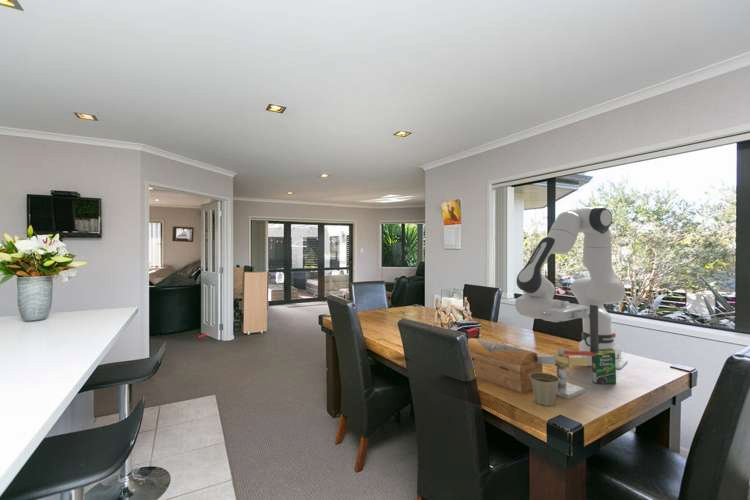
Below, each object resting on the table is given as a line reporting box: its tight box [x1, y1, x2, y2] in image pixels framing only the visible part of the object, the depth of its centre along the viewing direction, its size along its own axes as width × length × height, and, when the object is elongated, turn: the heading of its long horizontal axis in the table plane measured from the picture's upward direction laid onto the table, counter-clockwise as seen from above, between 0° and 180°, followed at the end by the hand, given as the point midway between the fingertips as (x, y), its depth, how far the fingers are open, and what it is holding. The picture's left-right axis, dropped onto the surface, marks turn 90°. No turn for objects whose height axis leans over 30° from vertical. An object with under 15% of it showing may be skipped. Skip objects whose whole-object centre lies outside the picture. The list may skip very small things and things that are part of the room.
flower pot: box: [529, 372, 560, 407], centre depth 120 cm, size 9×9×9 cm
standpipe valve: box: [536, 352, 589, 400], centre depth 130 cm, size 14×14×13 cm
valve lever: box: [557, 305, 599, 356], centre depth 129 cm, size 14×3×18 cm, turn 76°
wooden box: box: [467, 337, 543, 395], centre depth 144 cm, size 30×16×14 cm, turn 36°
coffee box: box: [591, 348, 617, 385], centre depth 137 cm, size 8×3×13 cm, turn 91°
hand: (590, 315), depth 129 cm, fingers closed, pressing on valve lever
